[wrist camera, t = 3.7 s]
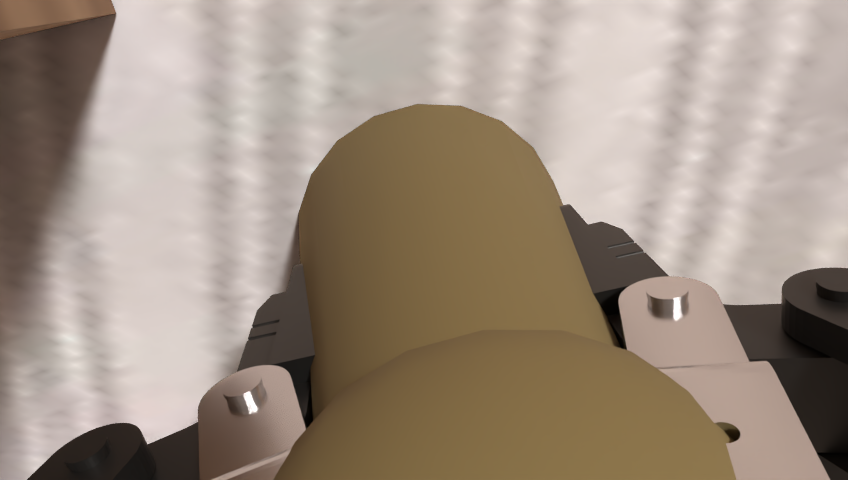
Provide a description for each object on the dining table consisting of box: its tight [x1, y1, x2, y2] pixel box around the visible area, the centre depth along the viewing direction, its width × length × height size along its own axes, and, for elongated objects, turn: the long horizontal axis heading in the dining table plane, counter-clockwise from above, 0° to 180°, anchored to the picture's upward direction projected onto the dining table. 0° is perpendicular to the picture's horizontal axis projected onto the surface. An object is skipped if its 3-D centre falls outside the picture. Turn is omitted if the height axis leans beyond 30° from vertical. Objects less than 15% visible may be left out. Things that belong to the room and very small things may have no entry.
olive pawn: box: [274, 104, 736, 480], centre depth 10 cm, size 6×6×11 cm
